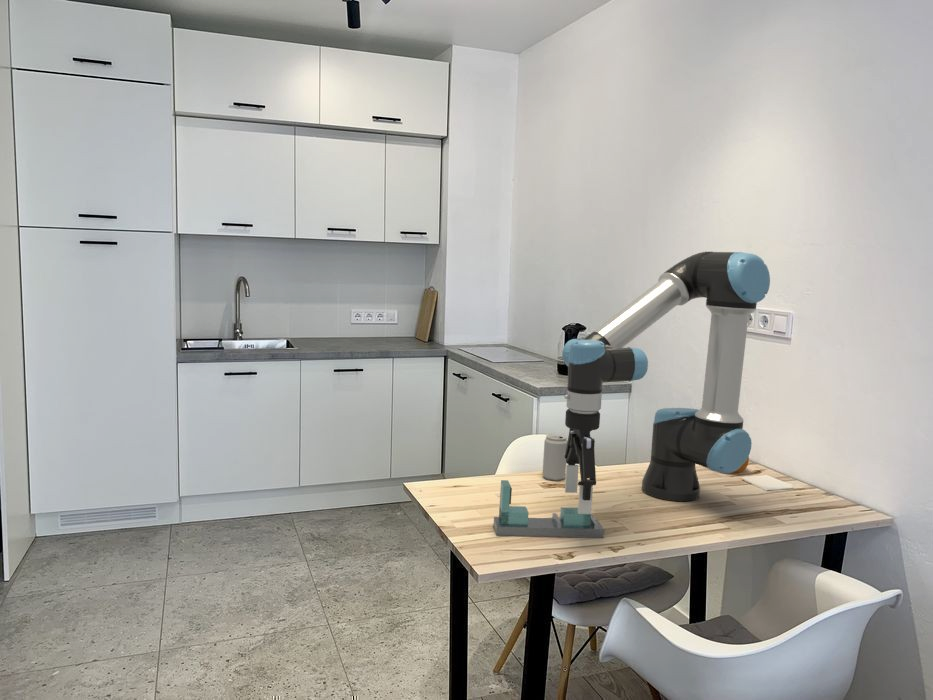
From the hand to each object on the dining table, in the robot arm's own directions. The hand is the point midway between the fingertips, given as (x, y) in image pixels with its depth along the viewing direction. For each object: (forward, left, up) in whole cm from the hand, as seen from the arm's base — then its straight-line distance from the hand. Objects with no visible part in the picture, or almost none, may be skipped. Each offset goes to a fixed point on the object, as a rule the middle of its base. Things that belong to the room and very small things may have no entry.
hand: (577, 502), depth 163 cm
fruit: (-59, -53, -7) cm, 79 cm away
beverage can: (-3, -40, -7) cm, 41 cm away
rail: (+6, 0, -7) cm, 9 cm away
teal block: (0, 0, -5) cm, 5 cm away
